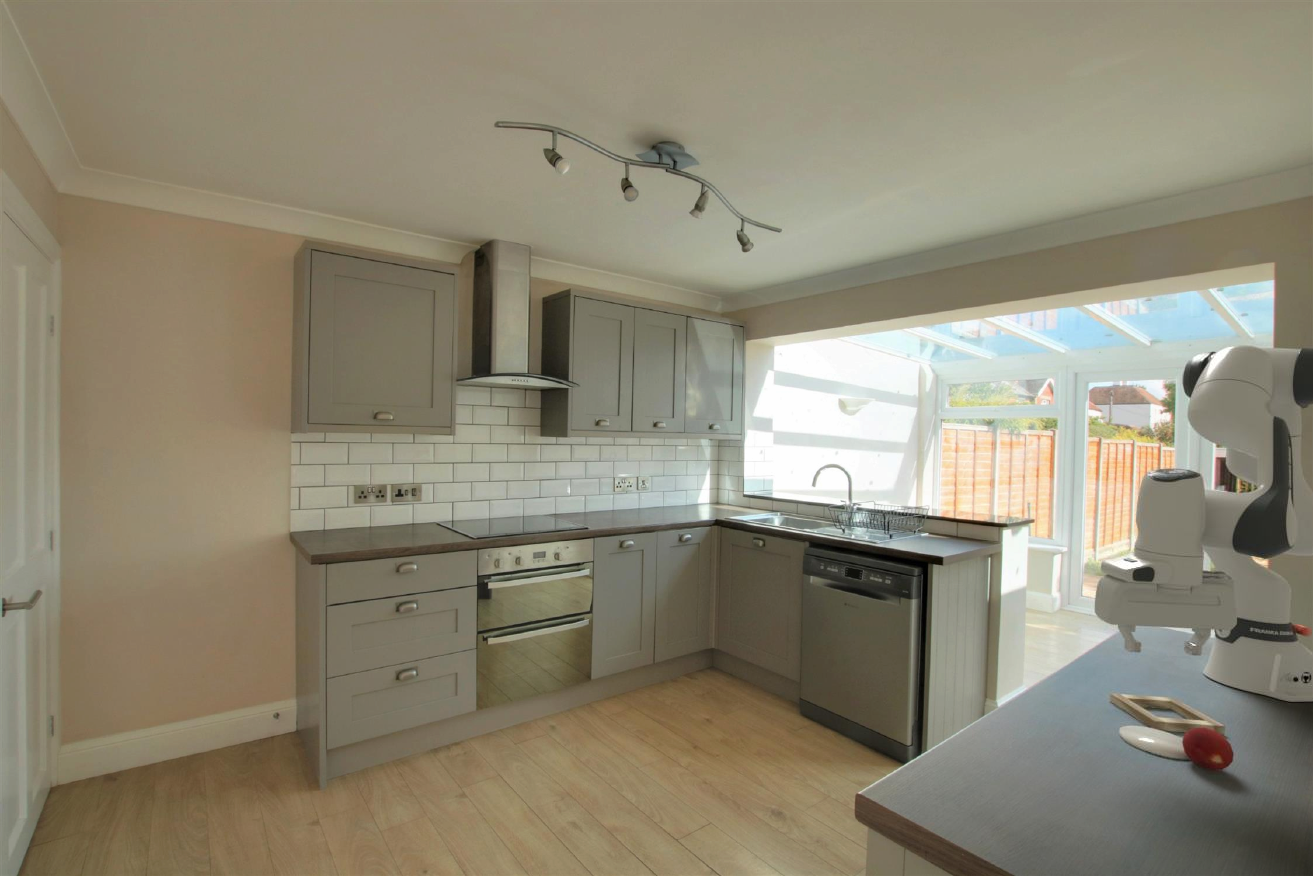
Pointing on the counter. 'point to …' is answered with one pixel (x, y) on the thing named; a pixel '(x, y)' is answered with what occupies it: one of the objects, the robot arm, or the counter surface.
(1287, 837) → the counter surface
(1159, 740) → the white domed disc
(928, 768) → the counter surface
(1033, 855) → the counter surface
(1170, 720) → the frame
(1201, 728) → the onion
